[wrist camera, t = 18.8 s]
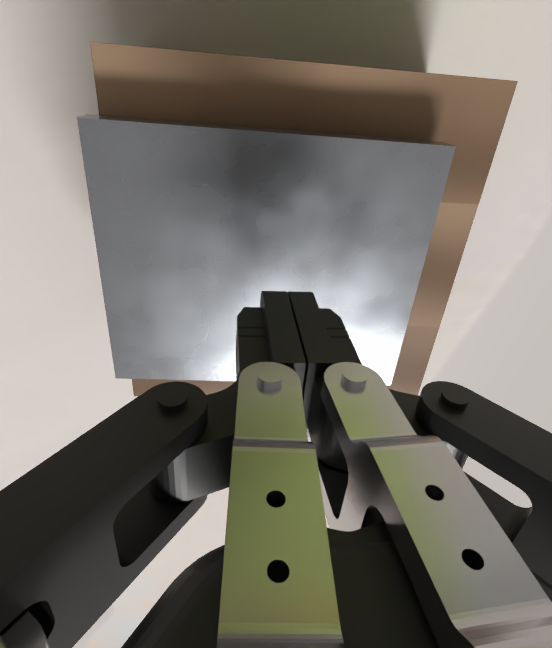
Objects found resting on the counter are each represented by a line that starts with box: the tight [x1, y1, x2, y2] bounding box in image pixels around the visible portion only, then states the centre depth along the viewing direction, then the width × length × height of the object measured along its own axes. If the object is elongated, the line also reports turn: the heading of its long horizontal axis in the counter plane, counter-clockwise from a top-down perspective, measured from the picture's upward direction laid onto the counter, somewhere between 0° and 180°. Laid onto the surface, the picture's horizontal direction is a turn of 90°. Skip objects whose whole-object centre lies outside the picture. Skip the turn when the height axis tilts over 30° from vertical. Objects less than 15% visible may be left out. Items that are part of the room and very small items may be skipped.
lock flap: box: [77, 115, 456, 385], centre depth 16 cm, size 12×10×1 cm
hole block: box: [90, 42, 518, 396], centre depth 21 cm, size 14×14×8 cm
